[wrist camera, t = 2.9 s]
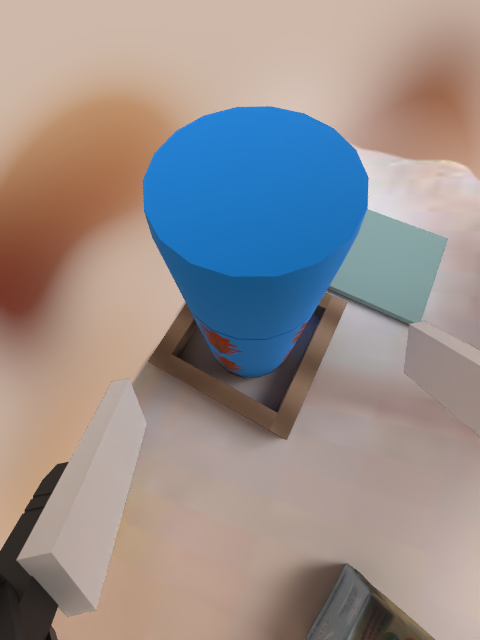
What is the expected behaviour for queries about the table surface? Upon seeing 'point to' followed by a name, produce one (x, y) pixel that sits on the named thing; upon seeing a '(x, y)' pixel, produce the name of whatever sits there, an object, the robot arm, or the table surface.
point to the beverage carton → (362, 614)
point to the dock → (237, 401)
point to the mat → (390, 267)
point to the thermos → (254, 225)
